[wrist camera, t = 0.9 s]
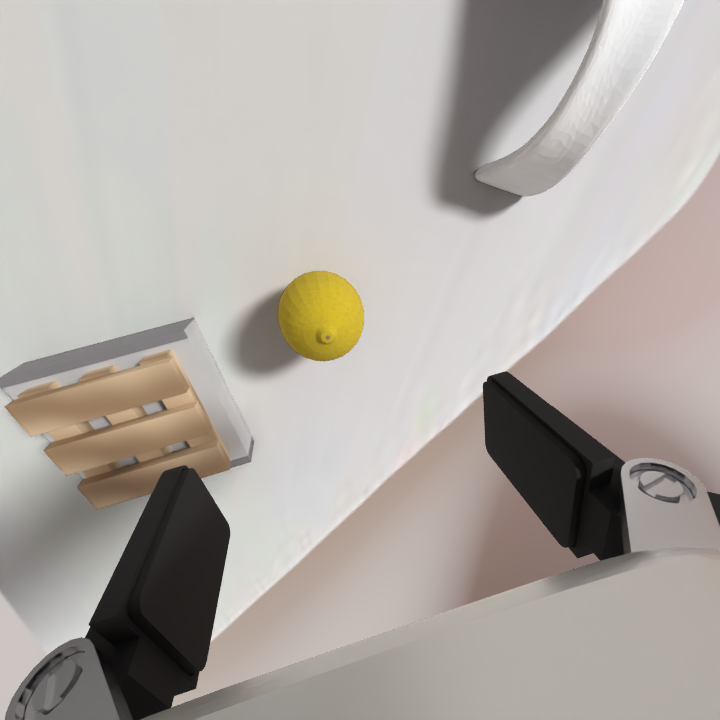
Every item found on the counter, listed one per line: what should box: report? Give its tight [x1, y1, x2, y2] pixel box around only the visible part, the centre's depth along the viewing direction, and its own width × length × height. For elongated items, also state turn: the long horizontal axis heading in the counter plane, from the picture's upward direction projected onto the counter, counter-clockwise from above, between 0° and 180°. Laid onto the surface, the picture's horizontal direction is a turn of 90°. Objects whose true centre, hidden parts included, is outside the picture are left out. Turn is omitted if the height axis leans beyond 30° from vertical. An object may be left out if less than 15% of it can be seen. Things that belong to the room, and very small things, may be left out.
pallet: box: [5, 349, 231, 509], centre depth 23 cm, size 10×10×2 cm
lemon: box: [278, 271, 364, 361], centre depth 21 cm, size 6×6×8 cm
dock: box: [0, 318, 254, 479], centre depth 25 cm, size 12×12×3 cm
